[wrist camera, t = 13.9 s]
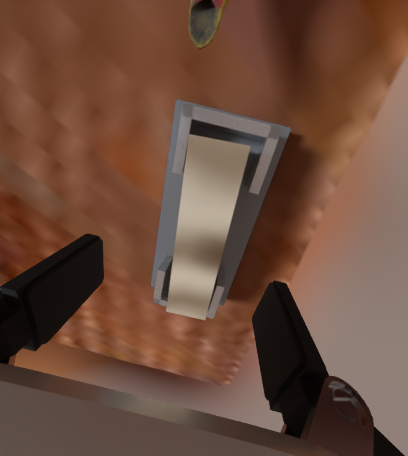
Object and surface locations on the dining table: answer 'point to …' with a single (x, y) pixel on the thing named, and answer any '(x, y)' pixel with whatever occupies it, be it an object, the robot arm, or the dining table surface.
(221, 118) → the grey long frame
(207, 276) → the birch slat
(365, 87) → the dining table surface
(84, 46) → the dining table surface
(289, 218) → the dining table surface
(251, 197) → the slat tray
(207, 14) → the magic lamp
